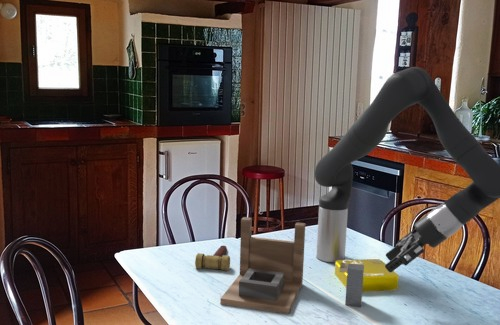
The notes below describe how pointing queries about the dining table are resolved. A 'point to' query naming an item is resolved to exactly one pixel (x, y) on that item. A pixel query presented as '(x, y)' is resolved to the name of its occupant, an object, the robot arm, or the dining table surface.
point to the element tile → (371, 275)
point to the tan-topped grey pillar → (353, 283)
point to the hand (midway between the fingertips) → (387, 263)
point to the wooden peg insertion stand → (267, 271)
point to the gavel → (214, 260)
